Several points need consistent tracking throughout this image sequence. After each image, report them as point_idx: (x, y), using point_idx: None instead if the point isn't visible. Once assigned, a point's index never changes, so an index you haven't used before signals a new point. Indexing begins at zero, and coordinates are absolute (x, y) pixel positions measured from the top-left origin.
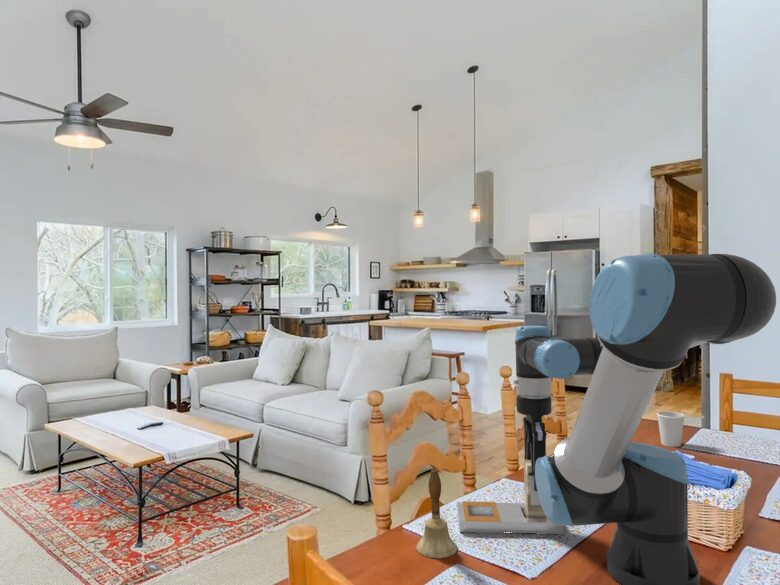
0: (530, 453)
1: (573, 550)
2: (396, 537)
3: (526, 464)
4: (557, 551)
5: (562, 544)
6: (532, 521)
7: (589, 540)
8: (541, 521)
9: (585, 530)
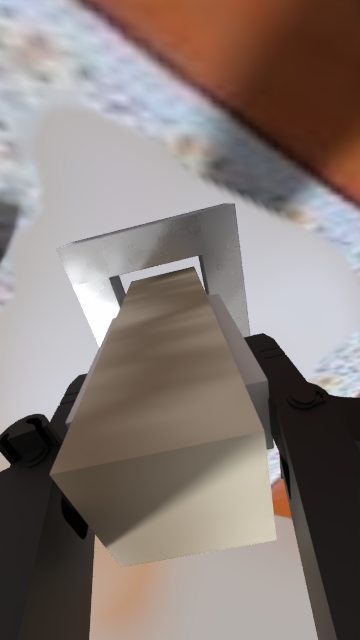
0: (71, 635)
1: (328, 171)
2: (287, 503)
3: (242, 543)
4: (334, 225)
5: (290, 208)
6: (239, 312)
7: (250, 99)
8: (234, 285)
9: (166, 110)
